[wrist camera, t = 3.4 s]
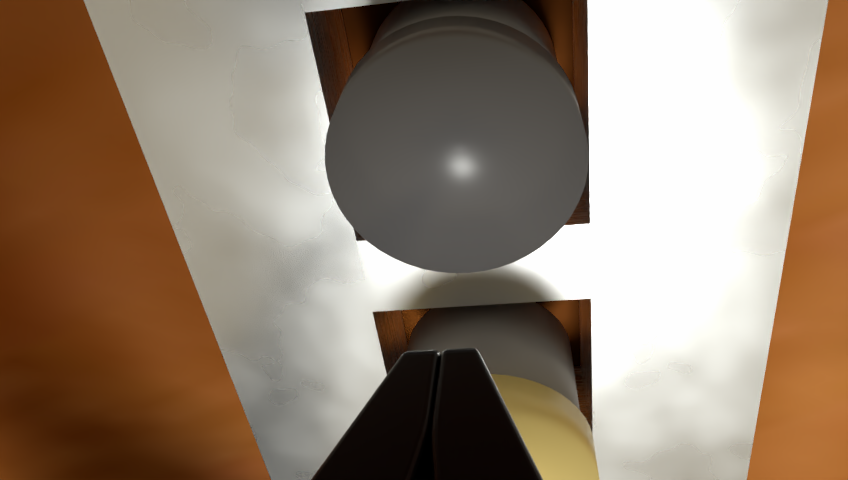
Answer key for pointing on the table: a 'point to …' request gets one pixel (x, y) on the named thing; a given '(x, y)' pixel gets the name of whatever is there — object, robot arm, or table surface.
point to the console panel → (514, 283)
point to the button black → (458, 137)
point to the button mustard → (523, 377)
